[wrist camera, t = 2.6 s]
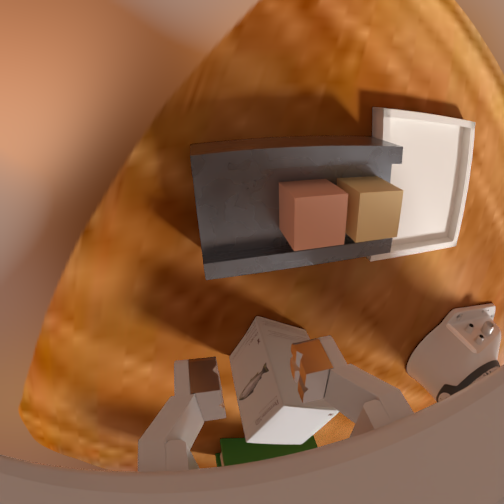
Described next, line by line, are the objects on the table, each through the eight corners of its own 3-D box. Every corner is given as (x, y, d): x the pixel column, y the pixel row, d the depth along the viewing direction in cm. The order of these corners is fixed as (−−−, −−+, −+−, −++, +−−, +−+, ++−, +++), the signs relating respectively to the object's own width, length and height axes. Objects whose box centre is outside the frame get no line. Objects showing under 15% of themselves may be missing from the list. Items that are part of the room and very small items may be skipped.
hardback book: (215, 455, 50) (235, 564, 30) (220, 438, 47) (244, 561, 27) (299, 448, 55) (332, 544, 34) (311, 431, 52) (351, 536, 31)
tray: (463, 119, 28) (475, 122, 26) (446, 239, 36) (455, 246, 34) (372, 106, 26) (383, 108, 24) (361, 252, 34) (370, 261, 32)
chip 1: (377, 176, 25) (403, 190, 22) (373, 218, 27) (396, 236, 24) (337, 178, 25) (360, 192, 21) (334, 222, 27) (355, 242, 23)
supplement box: (255, 313, 35) (285, 404, 24) (306, 328, 38) (345, 409, 27) (226, 356, 37) (244, 444, 26) (276, 367, 40) (302, 446, 29)
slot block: (370, 136, 27) (403, 146, 23) (363, 228, 32) (390, 252, 27) (190, 144, 25) (190, 155, 20) (202, 248, 30) (205, 280, 25)
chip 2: (325, 178, 24) (348, 193, 21) (324, 223, 26) (344, 244, 23) (278, 182, 24) (294, 198, 20) (279, 228, 26) (294, 251, 22)
